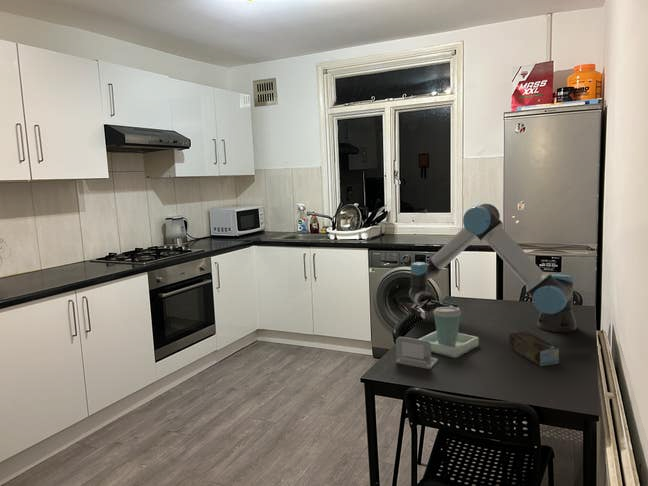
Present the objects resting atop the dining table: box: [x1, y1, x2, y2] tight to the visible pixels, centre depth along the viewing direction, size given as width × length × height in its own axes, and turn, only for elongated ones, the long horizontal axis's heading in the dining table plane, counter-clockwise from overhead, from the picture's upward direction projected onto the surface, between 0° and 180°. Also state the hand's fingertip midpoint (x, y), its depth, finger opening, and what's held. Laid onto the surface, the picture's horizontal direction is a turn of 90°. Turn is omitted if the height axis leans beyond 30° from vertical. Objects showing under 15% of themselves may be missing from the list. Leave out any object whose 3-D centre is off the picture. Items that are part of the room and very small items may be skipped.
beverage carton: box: [509, 331, 560, 367], centre depth 182 cm, size 8×19×7 cm, turn 12°
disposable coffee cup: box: [433, 307, 462, 347], centre depth 193 cm, size 11×11×15 cm
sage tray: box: [418, 330, 480, 359], centre depth 194 cm, size 17×17×4 cm
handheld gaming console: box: [395, 336, 439, 370], centre depth 180 cm, size 13×9×10 cm
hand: (440, 314), depth 202 cm, fingers open, 13 cm apart
